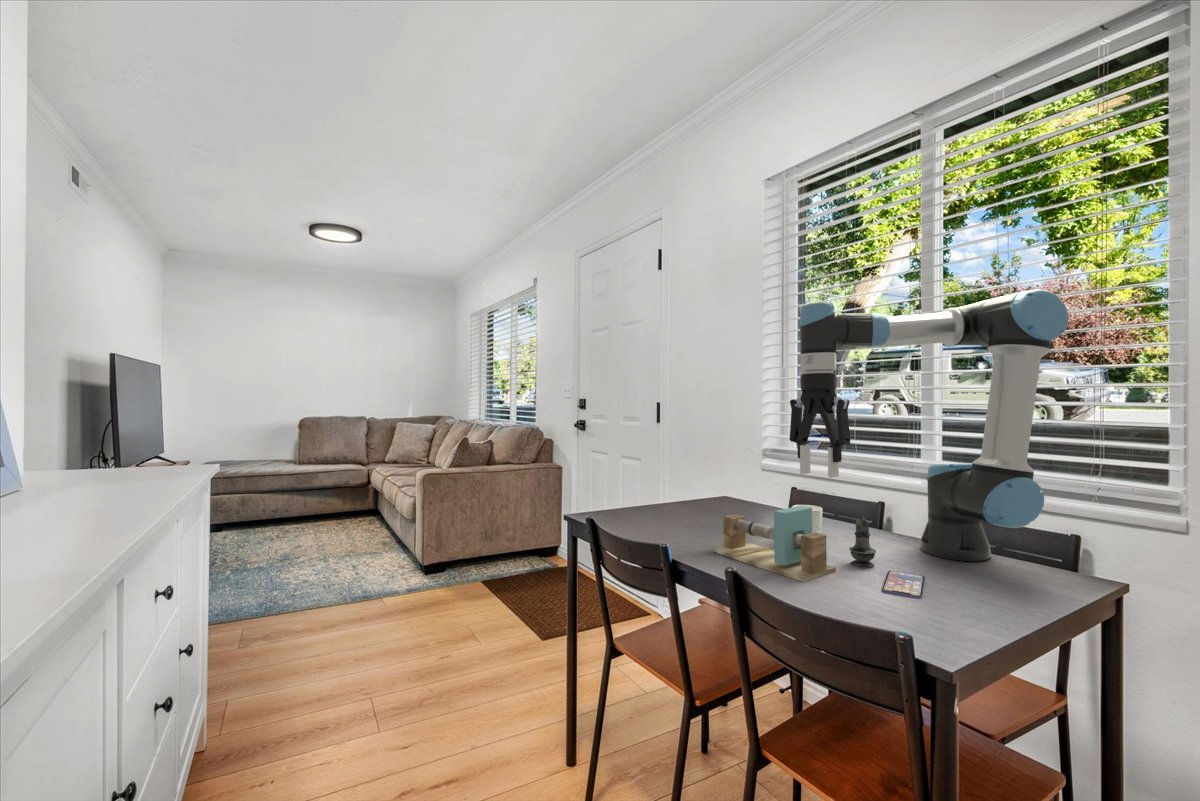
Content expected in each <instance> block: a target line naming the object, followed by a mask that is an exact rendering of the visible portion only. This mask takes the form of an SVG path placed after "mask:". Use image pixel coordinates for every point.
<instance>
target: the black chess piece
mask: <svg viewBox="0 0 1200 801" xmlns="http://www.w3.org/2000/svg"><path fill="white" fill-rule="evenodd" d="M864 517H865V516H864V515H863V514H862V515H860V518H857V519H856V520H855V532H854V533H853V534H854V535H855V543H854V545H853V546H849V548H848V550H849V551H850V555H851V557H852V558H853V559H854V560H851V562H850V565H852V566H853V567H857V568H860V569H861V568H862V569H863V568H864V569H871V568H872V569H873V568H875V567H876V564H874V563H873V562H872V560H873V559H874V558H875V554H876V553H877V550H875V549H874V548H872V547H871V545H870V536H871V533H869V532H870V526H869V521H868V520H867V519H866V518H864Z"/></svg>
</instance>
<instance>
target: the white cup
mask: <svg viewBox="0 0 1200 801" xmlns="http://www.w3.org/2000/svg"><path fill="white" fill-rule="evenodd" d="M798 506H805V507H810V508H812V533H814V532H815V533H819V534H822V528H823V507H821V506H818V505H813V504H812V505H811V504H795V505H792V506H791V508H792V507H798Z"/></svg>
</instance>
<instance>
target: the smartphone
mask: <svg viewBox="0 0 1200 801" xmlns="http://www.w3.org/2000/svg"><path fill="white" fill-rule="evenodd" d="M925 581H926V577H925V576H924V575H923V574H922V575H920V574H915V573H908V572H904V571H898V570H888V571H887V573H886V576H885V579H884V581H883V584H882V587H881V592H882V593H884V594H888V595H894V596H900V597H906V598H913V599H923V596H924V591H923V590H924V589H925V588H924V587H925ZM922 595H923V596H922Z"/></svg>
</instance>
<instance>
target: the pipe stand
mask: <svg viewBox="0 0 1200 801" xmlns="http://www.w3.org/2000/svg"><path fill="white" fill-rule="evenodd" d="M746 534H748V535H749V536H752V537H760V538H764V539H767V540H771V541H774V526H773V527H772V526H769V525H764V524H761V523H758V522H756V521H747V520H746V516H745V515H741V514H736V513H735V514H729V515H726V516H723V546H721V547H717V548H714V550H713V552H714V551H715V552H718V553H721V554H724V555H727V556H729V557H732V558H734V559H733V560H735V559H736V560H735V561H738V560H739V562H741V561H742V563H744V564H748V565H750V566H754V567H756V568H759V569H763V570H766V571H768V572H771V573H776V574H779V575H781V576H783V577H788V578H789V579H792V580H793V579H794V580H797V581H800V582H802V583H803V582H807V581H810V580H813V579H816V578H820V577H823V576H826V575H829V574H833V573H836V572H837V568H836V566H833V565H829V564H827V559H828V558H827V535H826V534H823V533H821V534H819V533H815V532H814V533H810V534H806V535H802V534H798V533H794V532H793V546H797V547H801V561H799V562H796V563H792V564H789V565H782V564H779V563H775V562H774V549H772V548H770V547H766V546H761V545H758V544H755V543H751V542H748V541H746ZM729 557H728V558H729ZM732 558H731V559H732Z"/></svg>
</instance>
